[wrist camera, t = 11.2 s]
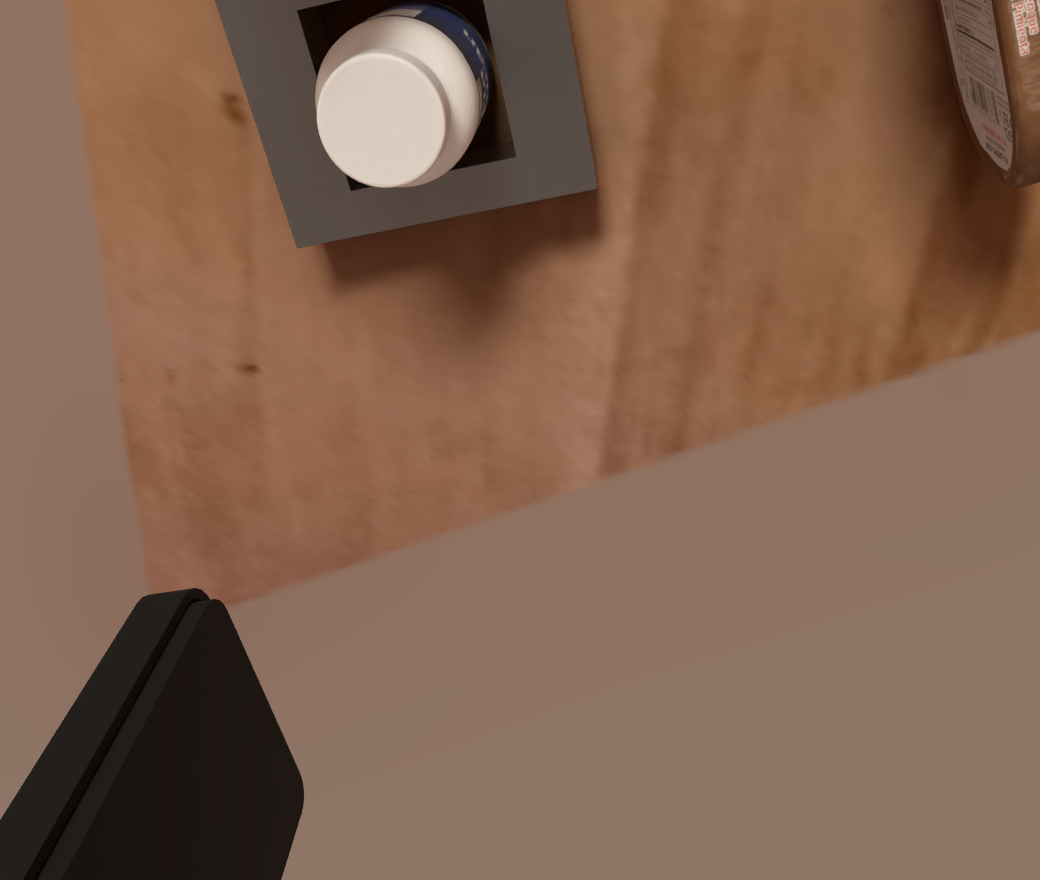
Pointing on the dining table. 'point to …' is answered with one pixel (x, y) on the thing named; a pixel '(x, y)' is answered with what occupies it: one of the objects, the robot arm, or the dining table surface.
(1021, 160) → the tin
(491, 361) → the dining table surface
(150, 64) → the dining table surface
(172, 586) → the dining table surface
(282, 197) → the socket block
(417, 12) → the pill bottle
